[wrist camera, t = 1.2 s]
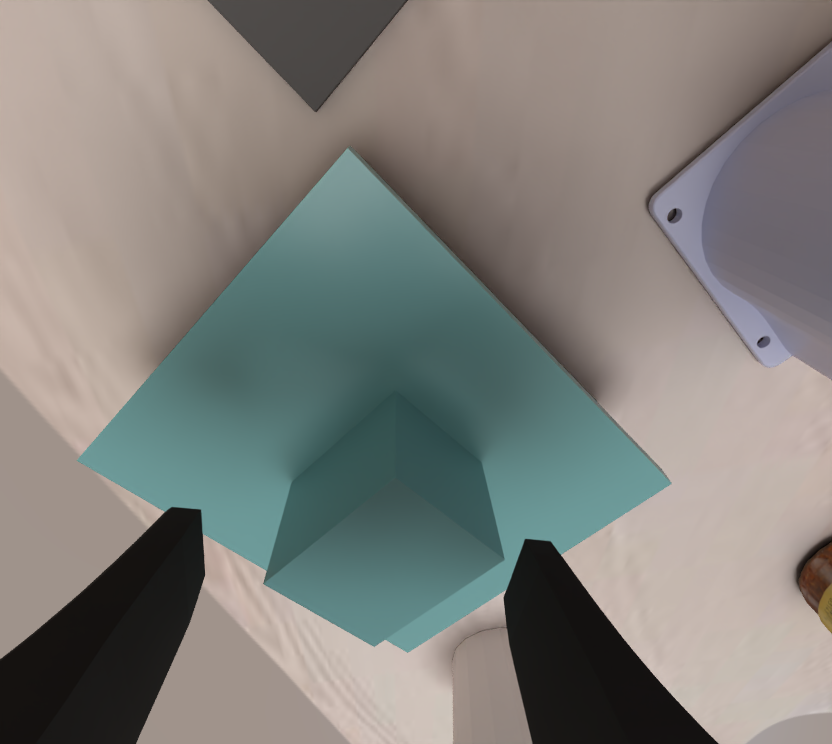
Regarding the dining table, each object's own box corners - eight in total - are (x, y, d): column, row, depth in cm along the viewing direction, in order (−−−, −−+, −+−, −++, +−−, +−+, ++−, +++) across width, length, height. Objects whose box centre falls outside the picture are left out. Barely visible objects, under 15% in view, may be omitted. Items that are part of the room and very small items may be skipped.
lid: (651, 454, 19) (742, 580, 14) (407, 618, 23) (410, 761, 18) (352, 143, 13) (326, 165, 8) (102, 431, 17) (-15, 561, 12)
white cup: (419, 661, 30) (425, 802, 24) (500, 605, 28) (529, 745, 22) (495, 700, 33) (518, 838, 27) (576, 651, 31) (621, 789, 24)
